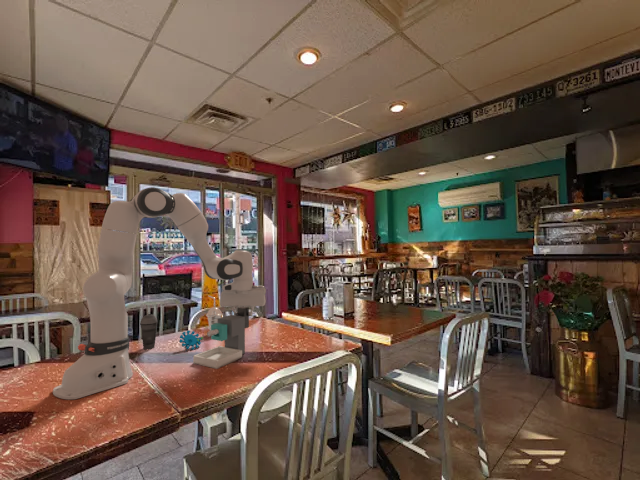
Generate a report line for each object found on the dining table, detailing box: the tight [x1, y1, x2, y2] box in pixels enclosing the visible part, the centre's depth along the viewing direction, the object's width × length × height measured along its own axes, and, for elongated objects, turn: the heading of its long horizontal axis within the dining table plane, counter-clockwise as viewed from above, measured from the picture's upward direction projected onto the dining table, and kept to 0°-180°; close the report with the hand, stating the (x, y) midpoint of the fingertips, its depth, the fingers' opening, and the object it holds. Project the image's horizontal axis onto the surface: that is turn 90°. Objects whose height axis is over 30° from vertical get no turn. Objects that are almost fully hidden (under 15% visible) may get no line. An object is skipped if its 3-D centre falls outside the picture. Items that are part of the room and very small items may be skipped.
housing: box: [218, 314, 246, 355], centre depth 136 cm, size 8×8×16 cm
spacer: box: [210, 323, 227, 342], centre depth 130 cm, size 3×6×6 cm, turn 62°
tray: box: [192, 345, 243, 370], centre depth 129 cm, size 14×13×3 cm
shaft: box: [206, 306, 250, 338], centre depth 135 cm, size 22×4×9 cm, turn 152°
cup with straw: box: [205, 295, 224, 331], centre depth 171 cm, size 8×9×20 cm
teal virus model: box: [179, 329, 204, 351], centre depth 147 cm, size 11×6×10 cm
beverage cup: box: [139, 304, 159, 350], centre depth 146 cm, size 7×7×20 cm
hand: (243, 316), depth 143 cm, fingers closed on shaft, 5 cm apart
